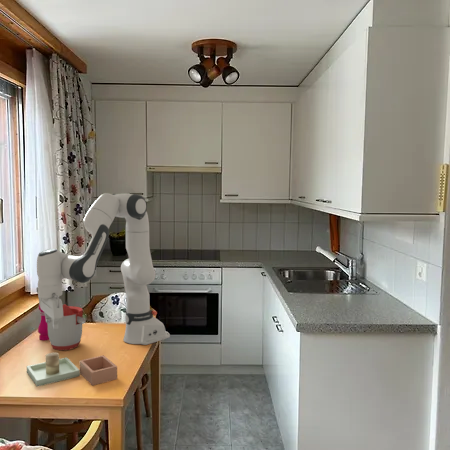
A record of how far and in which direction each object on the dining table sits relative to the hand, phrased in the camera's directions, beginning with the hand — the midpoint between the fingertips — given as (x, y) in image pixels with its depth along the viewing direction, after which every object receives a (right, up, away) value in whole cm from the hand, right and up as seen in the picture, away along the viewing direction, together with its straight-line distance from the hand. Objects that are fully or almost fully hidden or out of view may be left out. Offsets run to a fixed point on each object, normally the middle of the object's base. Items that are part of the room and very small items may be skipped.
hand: (52, 325), depth 178 cm
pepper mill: (-19, -16, +42) cm, 49 cm away
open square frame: (+18, -20, 0) cm, 27 cm away
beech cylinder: (0, -19, +2) cm, 19 cm away
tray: (0, -20, +2) cm, 20 cm away
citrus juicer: (-5, -17, +32) cm, 36 cm away
